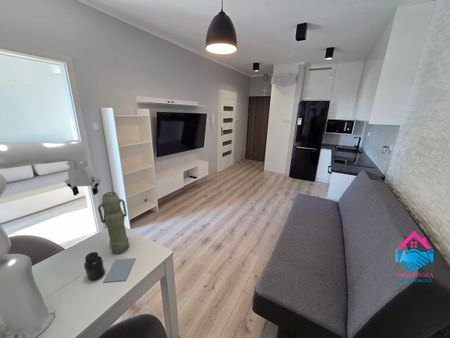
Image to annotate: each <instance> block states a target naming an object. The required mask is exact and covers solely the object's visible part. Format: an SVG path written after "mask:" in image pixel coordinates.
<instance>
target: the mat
mask: <svg viewBox="0 0 450 338" xmlns="http://www.w3.org/2000/svg"><path fill="white" fill-rule="evenodd" d="M135 261H136V257H134V258H122V259H121V258H119V259H115V260H114V261H113V263H112V265H111V267H110V269H108V272H107V274H106V276H105V278H104V280H103V281H102V284H103V283H104V284H105V283H106V284H107V283H117V282H126V281H127V279H128V277H129V276H130V273H131V270H132V269H133V265H134V263H135Z"/></svg>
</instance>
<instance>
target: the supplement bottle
mask: <svg viewBox="0 0 450 338" xmlns="http://www.w3.org/2000/svg"><path fill="white" fill-rule="evenodd" d="M84 259H85V261H84V264H83V266H84V270H85V274H86V277H87V280H88V281H89V282H96V281H98V280H100V279H101V278H103V276H104V275H105V273H106V270H105V266H104V262H103V259H102V256H100V255H99V254H98V252H97V251H93V252H89V253H88V254H87V255H86V256H85V257H84Z"/></svg>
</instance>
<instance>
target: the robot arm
mask: <svg viewBox="0 0 450 338" xmlns="http://www.w3.org/2000/svg"><path fill="white" fill-rule="evenodd" d="M86 154H87V150H86V147H85V145H84V143H83V141H82V140H79V139H73V140H72V139H71V140H66V141H64V142H44V141H43V142H42V141H41V142H40V141H39V142H35V141H32V142H31V141H28V142H27V141H25V142H22V141H20V142H18V141H16V142H15V141H12V142H7V141H6V142H2V141H1V142H0V170H3V169H5V170H6V169H14V168H21V167H29V166H36V165H45V164H53V163H61V162H66V166H69V167H68V168H67V175H68V178H67V179H65V180H64V181H63V182H64V183H65V184H66V185H67V187H69V188H70V189H71V191H72V194H73V197H75V196H77V195H79V193H80V191H79V188H78V187H89V186H90V187H91V190H92V194H93V196H95V195H97V194H98V193H99V189H98V186H99V185H100V184H101V182H102V179H101V178H99V177H95V176H94V173H93V170H92V168H91V166H90V165H89V163H88V160H87V155H86ZM6 189H7V180H6V178H5V176H4V175H3V174H1V173H0V198H1V197H2V195H4V193H5V191H6ZM11 247H12V241H11V239H10V238H9V235H8V234H7V233H6V231H5V229H4V228H3V226H2V224H0V317H1V318H2V321H3V322H4V324H5V325H6V326H5V327H7V329H8V330H7V332H6V333H5V338H38V337H39V336H40V335H41V334H42V333H43V332H44V331H46V330H47V329H48V327H49V326H50V325H51V324H52V322H53V321H54V319H55V316H56V312H55V308H54V307H53V306H51V305H46V302H45V301H44V299H43V296H42V293H41V291H40V289H39V287H38V284H37V282H36V279H35V278H34V274H33V262H32V260H31V258H30V257H29V256H28V255H26V254H20V253H9V252H10V250H11V249H12V248H11Z"/></svg>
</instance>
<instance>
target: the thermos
mask: <svg viewBox="0 0 450 338" xmlns="http://www.w3.org/2000/svg"><path fill="white" fill-rule="evenodd" d="M121 202H122V207H121ZM101 208H102V209H103V213H104V215H103V214H102V210H101ZM122 208H123V210H122ZM126 208H127V207H126V203H125V200H124V199H123V198H120V197H119V195H118V193H117V192H115V191H108V192H106V193H103V195H102V198H101V203H100V204H99V205H98V207H97V210H98V214H99V217H100V222H101V223H103V224H105V227H106V228H107V233H108V237H109V247H110V250H111V253H112V254H113V255H114V256H115V255H117V256H118V255H122V254H124V253H125V252H127V251H128V250H129V249H130V244H129V243H130V242H129V238H128V235H127V231H126V228H125V227H126V226H125V218H126V217H127V215H128V213H127V209H126ZM128 248H129V249H128Z"/></svg>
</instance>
